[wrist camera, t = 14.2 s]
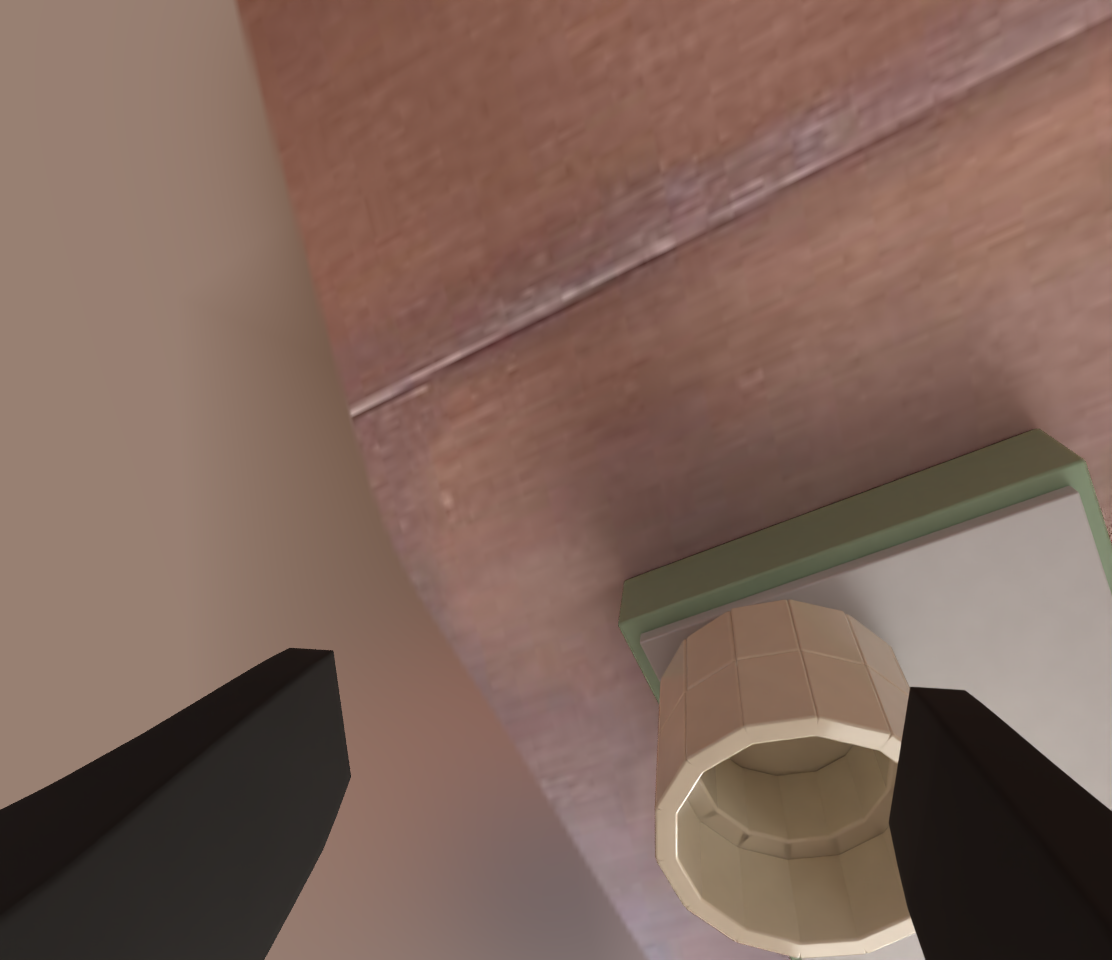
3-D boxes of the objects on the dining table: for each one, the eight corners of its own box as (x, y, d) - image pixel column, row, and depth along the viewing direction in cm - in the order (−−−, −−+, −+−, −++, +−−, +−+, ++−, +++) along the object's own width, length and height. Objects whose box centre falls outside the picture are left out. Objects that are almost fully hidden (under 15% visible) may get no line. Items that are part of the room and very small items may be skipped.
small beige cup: (622, 732, 19) (606, 885, 15) (727, 548, 17) (743, 667, 13) (823, 821, 19) (864, 1000, 15) (952, 649, 17) (1041, 800, 13)
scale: (622, 579, 20) (615, 633, 18) (1050, 421, 17) (1110, 460, 15) (831, 991, 24) (848, 1082, 22) (1210, 918, 21) (1279, 1012, 19)
